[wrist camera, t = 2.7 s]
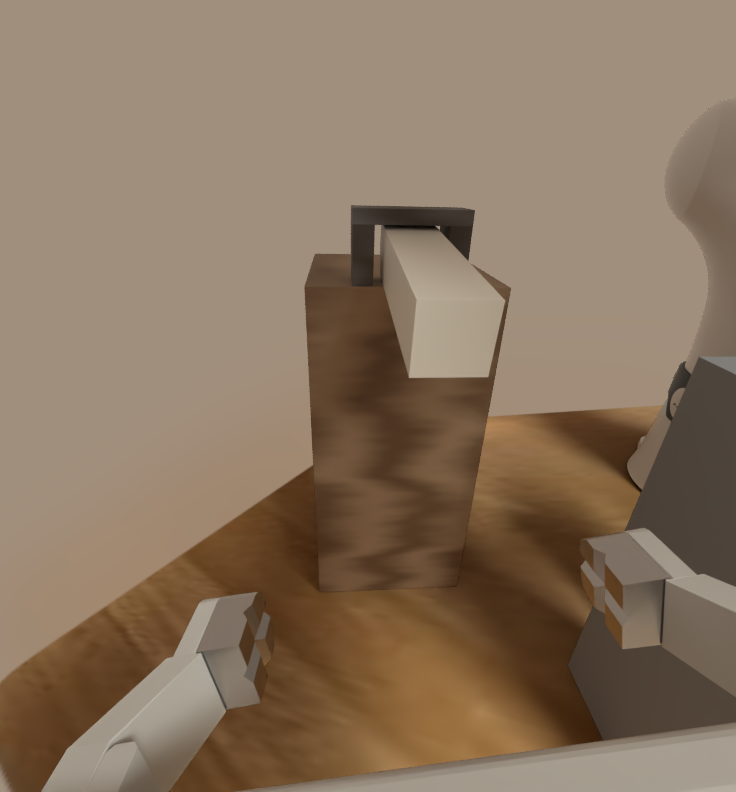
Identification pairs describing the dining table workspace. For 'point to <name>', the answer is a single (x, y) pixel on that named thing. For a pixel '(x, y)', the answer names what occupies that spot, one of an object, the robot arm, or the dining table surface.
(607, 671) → the post
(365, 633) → the dining table surface
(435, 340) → the cream long block
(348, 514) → the stand
